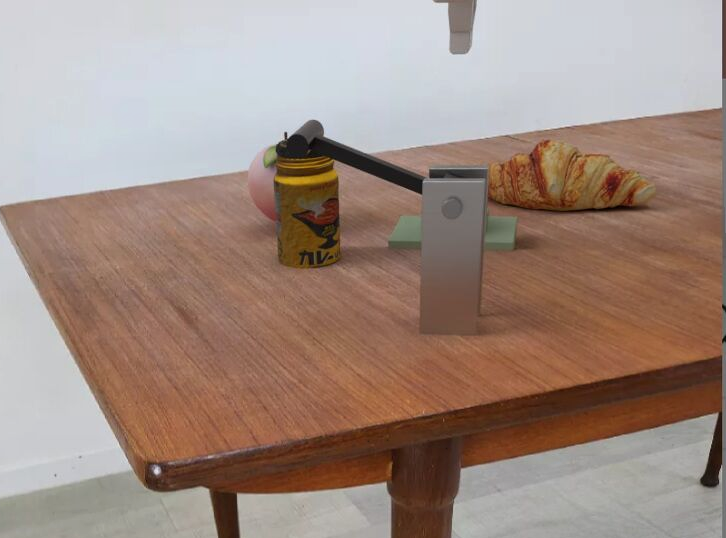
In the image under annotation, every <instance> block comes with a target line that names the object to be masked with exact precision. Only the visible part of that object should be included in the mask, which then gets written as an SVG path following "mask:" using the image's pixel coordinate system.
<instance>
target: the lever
mask: <svg viewBox="0 0 726 538" xmlns="http://www.w3.org/2000/svg"><path fill="white" fill-rule="evenodd" d="M324 135H325V129H324V126H323V124H322V122H320V121H319V120H317V119H308V120H307V121H306V122H305V123H304V124H302V125H301V126H300V127H299V128H298V129H297V130H296V131H294V132H292V134H291V135H290V136H289V137H287V139H288V140H287V142H286V150H287V152H288V154H289V155H290V156H291V157H292V158H295V159H301V158H303V157H304V156H306V155H307V154H308V153H309V152H310V151H313V152H316V153H318V154H321V155H323V156H326V157H328V158H331V159H333V160H334V161H336V162H338V163H341V164H343V165H346V166H347V167H348V166H349V167H351V168H354V169H356V170H358V171H361V172H363V173H366V174H368V175H371V176H374V177H377V178H379V179H381V180H383V181H386V182H389V183H391V184H393V185H396V186H399V187H401V188H403V189H406V190H409V191H411V192H413V193H416V194H418V195H421V196H422V184H423V180H424V179H425V178H427V177H426V176H424V175H421V174H419V173H416V172H414V171H412V170H410V169H407V168H404V167H401V166H399V165H396V164H394V163H391V162H389V161H386V160H384V159H381V158H379V157H376V156H374V155H372V154H369V153H366V152H364V151H361V150H359V149H357V148H354V147H351V146H349V145H346V144H344V143H341V142H338V141H336V140H333V139H331V138H329V137H326V136H324ZM444 178H458V177H456V176H453V175H451V174H448V173H445V176H444Z"/></svg>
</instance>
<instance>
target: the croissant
mask: <svg viewBox="0 0 726 538" xmlns="http://www.w3.org/2000/svg"><path fill="white" fill-rule="evenodd" d="M488 165H489V182H488V196H489V197H490V198H491V199H492V200H494V201H496V202H499V203H501V204H502V205H510V206H511V205H512V206H516V207H519V208H520V207H521V208H523V209H528V210H529V209H531V210H548V211H556V212H566V211H581V210H588V209H596V210H600V209H607V208H611V209H612V208H616V207H617V206H625V207H635V206H640V205H644V204H647V203H648V202H650V201H652V200H653V199H654V198H655V197H656V194H657V191H658V189H657V186H656V185H655V184H654V183H653V182H649V181H648V180H647V179H646V178H645V177H644V176H642V174H641V173H640V172H639V171H638V170H636V169H627V170H626V169H624V167H622V166H621V165H619V164H618V163H616V162H615V160H613V159H612V158H611V157H610V155H609V154H601V153H595V154H594V153H587V152H584V153H583V154H582V152H581V151H580V150H579V148H578V147H577V146H575V145H573V144H572V143H569V142H563V141H560V140H556V139H555V140H551V139H546V140H545V139H542V140H540V141H539V142H537V143H536V145H535V146H534V148H533V150H532V151H531V152H530V153H526V152H525V153H524V152H517V153H516V154H514V155H513V156H511V157H510V160H508V161H505V162H504V163H499V162H495V163H494V162H493V163H492V162H491V163H488Z"/></svg>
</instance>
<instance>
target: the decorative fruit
mask: <svg viewBox="0 0 726 538" xmlns="http://www.w3.org/2000/svg"><path fill="white" fill-rule="evenodd" d="M283 136H284V140H285V139H288V132H287V131H284V132H283ZM277 144H278V143H273V144H270V145H268V146H266V147H263V148H262V149H261V150H260V151H259V152H257V154H256V155H255V156H254V158H253V160H252V161H251V162H250V164H249V166H248V171H247V188H248V193H249V195H250V198H251V200H252V202H253V204H254V205H255V206H256V208H257V209H258V211H260V212H261V213H262V214H263V215H264V216H265V217H267V218H269V219H270V220H271V221H273V222H275V223H276V212H275V200H274V197H275V196H274V175H275V174H276V172H277V170H276V160H277V153H276V151H275V149H276V145H277Z"/></svg>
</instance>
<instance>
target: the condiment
mask: <svg viewBox="0 0 726 538" xmlns="http://www.w3.org/2000/svg"><path fill="white" fill-rule="evenodd" d="M287 140H288V138H287V139H285V138H284V139H282V140H280V141H278V142H277V143H276V144H277V145H276V149H275V151H276V153H277V160H276V170H277V172H276V174H275V175H274V196H275V197H274V200H275V212H276V222H275V226H276V227H275V228H276V243H277V244H276V246H277V256H278V258H277V259H278V263H279V264H280V265H282V266H285V267H289V268H293V269H300V270H301V269H316V268H325V267H327V266H330V265H331V266H332V265H333V264H336V263H338V262H339V261H340V260H341V257H342V253H341V225H340V223H341V222H340V197H339V196H340V195H339V194H340V193H339V190H340V189H339V188H340V185H339V184H340V181H339V174H338V172H337V170H336V169H335V168H334V165H335V160H333V159H331V158H328V157H326V156H323V155H321V154H318V153H316V152H313V151H310V152H309V153H308V154H307V155H306V156H304V157H303V158H301V159H295V158H292V157H291V156H290V155H289V154H288V152H287V150H286V142H287Z"/></svg>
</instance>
